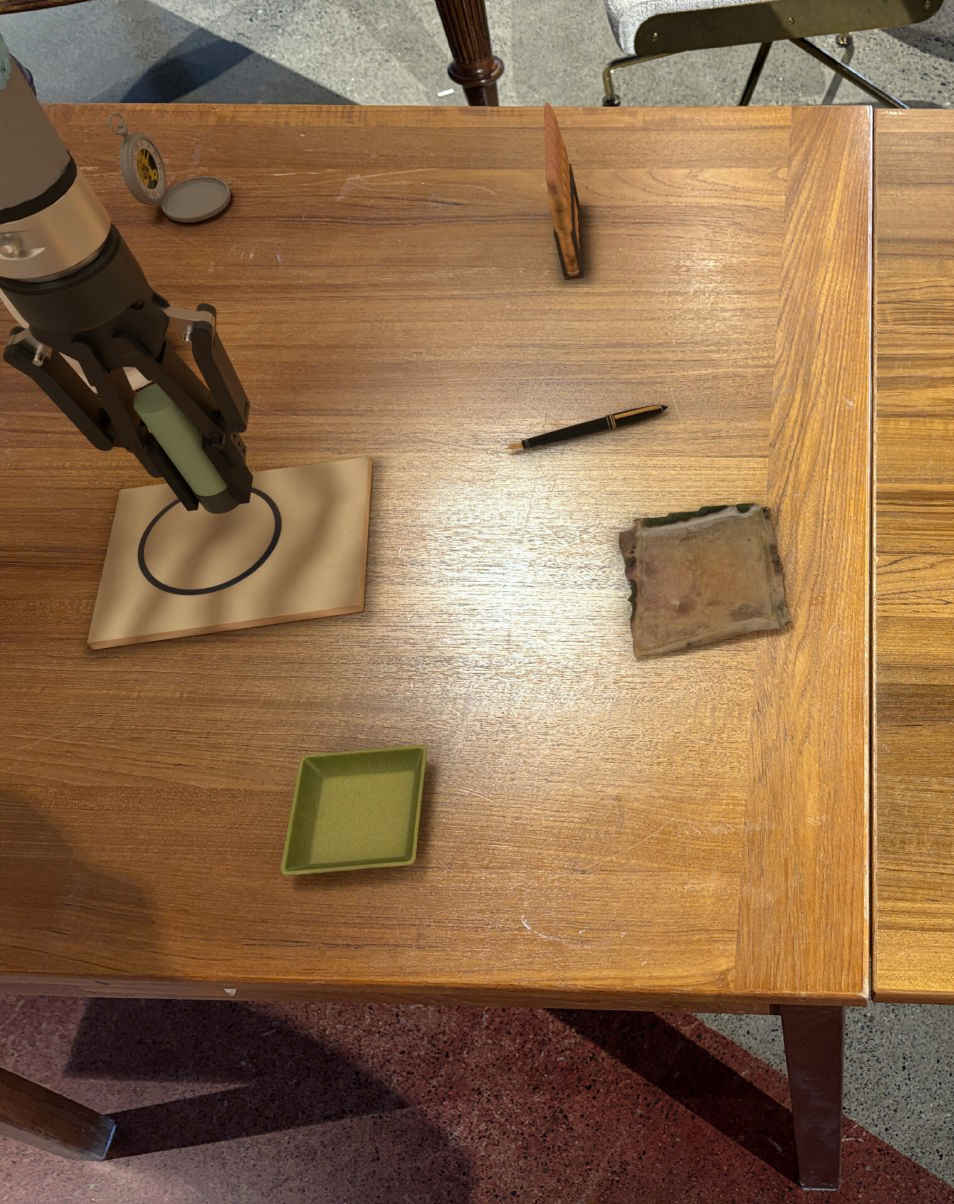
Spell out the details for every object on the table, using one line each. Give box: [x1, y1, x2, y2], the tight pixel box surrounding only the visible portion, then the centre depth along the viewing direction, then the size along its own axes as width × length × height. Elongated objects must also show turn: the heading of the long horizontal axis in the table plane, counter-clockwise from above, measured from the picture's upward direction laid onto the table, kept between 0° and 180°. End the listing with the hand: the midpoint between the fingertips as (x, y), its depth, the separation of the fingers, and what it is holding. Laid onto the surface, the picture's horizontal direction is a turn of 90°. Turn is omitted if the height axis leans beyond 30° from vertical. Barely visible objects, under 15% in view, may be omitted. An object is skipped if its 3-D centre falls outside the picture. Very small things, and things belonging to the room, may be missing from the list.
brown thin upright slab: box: [543, 101, 585, 280], centre depth 107 cm, size 11×2×12 cm, turn 8°
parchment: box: [618, 502, 793, 657], centre depth 89 cm, size 12×13×1 cm
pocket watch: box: [108, 112, 232, 223], centre depth 113 cm, size 8×8×10 cm
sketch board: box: [86, 456, 373, 650], centre depth 91 cm, size 20×15×1 cm
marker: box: [133, 383, 239, 514], centre depth 85 cm, size 3×3×11 cm
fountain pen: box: [504, 404, 669, 451], centre depth 98 cm, size 14×1×2 cm, turn 109°
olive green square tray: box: [279, 744, 428, 876], centre depth 78 cm, size 9×9×2 cm
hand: (220, 493), depth 90 cm, fingers closed on marker, 3 cm apart
